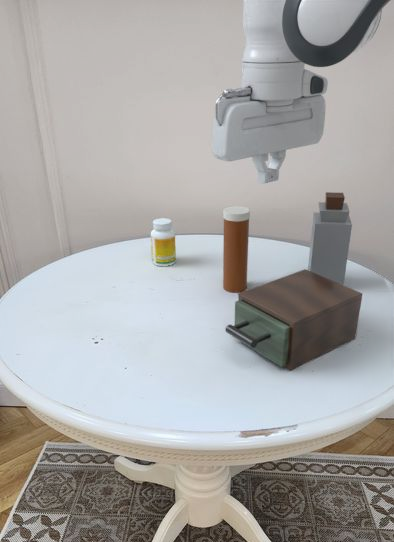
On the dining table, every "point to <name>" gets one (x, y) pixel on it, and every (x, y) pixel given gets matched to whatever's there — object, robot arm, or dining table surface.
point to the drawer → (261, 332)
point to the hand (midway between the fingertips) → (267, 181)
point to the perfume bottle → (330, 238)
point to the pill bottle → (235, 248)
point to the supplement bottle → (163, 242)
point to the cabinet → (309, 313)
